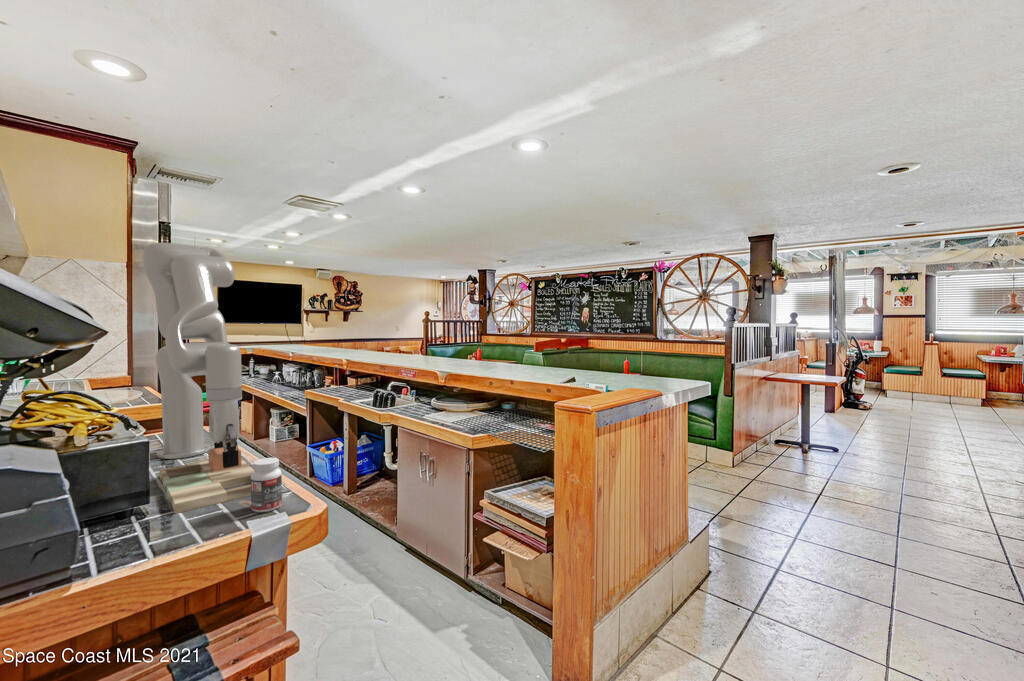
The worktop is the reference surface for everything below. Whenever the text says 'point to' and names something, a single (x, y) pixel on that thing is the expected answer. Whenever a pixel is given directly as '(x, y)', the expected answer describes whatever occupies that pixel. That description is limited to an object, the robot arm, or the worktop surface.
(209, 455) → the block
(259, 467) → the pill bottle
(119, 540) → the worktop surface
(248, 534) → the worktop surface
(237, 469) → the board
